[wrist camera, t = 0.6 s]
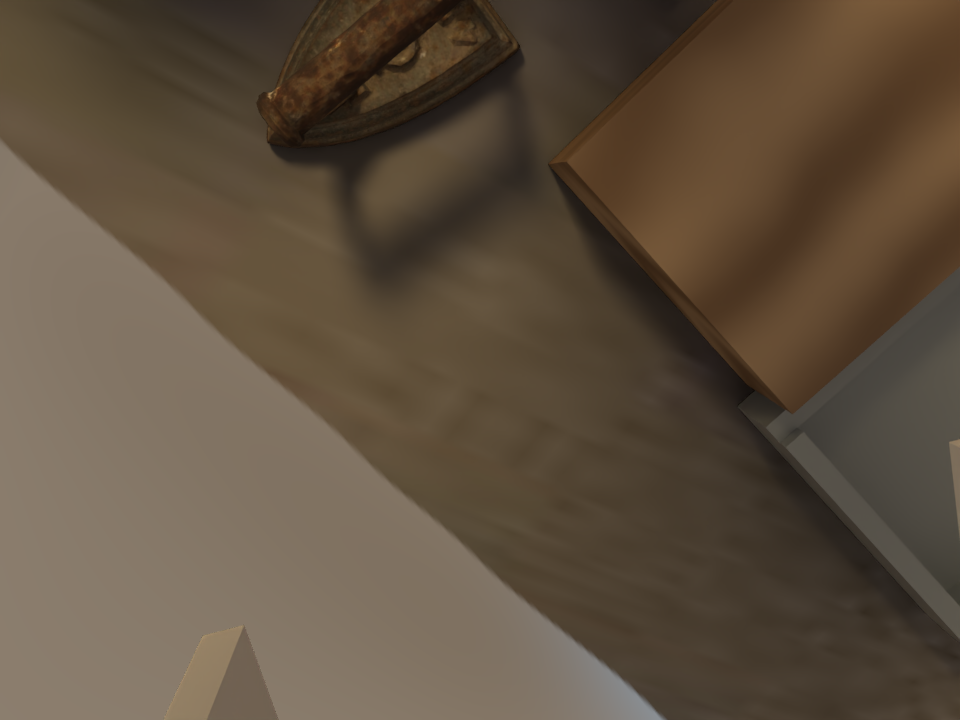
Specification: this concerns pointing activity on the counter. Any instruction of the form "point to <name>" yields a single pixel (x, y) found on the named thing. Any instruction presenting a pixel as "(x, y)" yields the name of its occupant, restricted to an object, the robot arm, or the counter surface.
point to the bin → (889, 449)
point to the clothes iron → (379, 66)
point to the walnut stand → (787, 178)
